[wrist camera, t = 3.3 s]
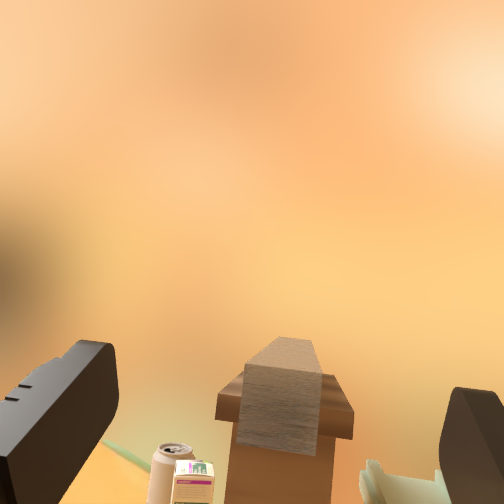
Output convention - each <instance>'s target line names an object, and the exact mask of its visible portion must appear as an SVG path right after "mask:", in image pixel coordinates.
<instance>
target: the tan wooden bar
mask: <svg viewBox="0 0 504 504" xmlns="http://www.w3.org/2000/svg"><path fill="white" fill-rule="evenodd" d="M322 374H323V373H322V370H321V368H320V365H319V362H318V360H317V356H316V354H315V351H314V348H313V345H312V342H311V341H310V340H302V339H294V338H285V337H278V338H277V339H276V340H274V341H273V342H272V343H270V344H269V345H268V346H267V347H265V348H264V349H263V350H261V351H260V352H259V353H258V354H256V355H255V356H254V357H252V358H251V359H250V360H249V361H247V362H246V363H245V368H244V377H243V386H242V395H241V404H240V413H239V422H238V431H237V440H236V444H240V445H247V446H253V447H259V448H266V449H272V450H279V451H285V452H291V453H298V454H304V455H311V456H316V445H317V433H318V421H319V409H320V398H321V386H322Z"/></svg>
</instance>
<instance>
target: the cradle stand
mask: <svg viewBox="0 0 504 504" xmlns="http://www.w3.org/2000/svg"><path fill="white" fill-rule="evenodd" d="M366 461H367V462H366V470H360V479H359V489H360V492H361V495H362V498H363V501H364V504H451V501H450V497H449V494H448V491H447V488H446V485H445V482H444V478H443V475H442V472H441V470H435V481H429V480H422V479H417V478H410V477H404V476H398V475H391V474H385V473H384V472H383V470H382V468H381V466H380V464H379V462H378V461H377V460H371V459H367V460H366Z"/></svg>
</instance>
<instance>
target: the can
mask: <svg viewBox="0 0 504 504" xmlns="http://www.w3.org/2000/svg"><path fill="white" fill-rule="evenodd" d="M192 451H193V449H192V447H190V446H188V445H186V444H182V443H172V442H171V443H163V444H161V445H159V446H158V451H156V452H155V453H154V455H153V457H152V465H151V472H150V479H149V487H148V494H147V501H146V504H170V503H171V495H172V486H173V478H174V470H175V465H176V461H177V460H195V457H194V455H193V454H192Z"/></svg>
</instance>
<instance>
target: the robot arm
mask: <svg viewBox="0 0 504 504" xmlns="http://www.w3.org/2000/svg"><path fill="white" fill-rule="evenodd" d="M118 401H119V389H118V379H117V368H116V358H115V350H114V347H113V345H112V344H111V343H104V342H96V341H88V340H80V341H78V342H76V343H75V344H74V345H73V346H72V347H71V348H70V349H69V350H68V351H67V352H66V353H65V354H64V356H62V357H61V358H54V359H52V360H50V361H48V362H47V363H45V364H43V365H41V366H39V367H38V368H36V369H34V370H33V371H32V372H31V373H30V374H29V375H28V376H27V377H26V378H25V379H24V380H22V382H20V383H19V386H18V387H15V388H14V389H13V390H12V391H11V392H10V393H9V394H8V395H7V396H6V397H5V400H1V401H0V504H58V503H59V502H60V500H61V499H62V497H63V495H64V494H65V492H66V491H67V489H68V488H69V486H70V485H71V483H72V482H73V480H74V479H75V477H76V476H77V474H78V472H79V471H80V469H81V468H82V466H83V465H84V463H85V462H86V460H87V459H88V457H89V456H90V454H91V452H92V451H93V449H94V448H95V446H96V445H97V443H98V442H99V440H100V439H101V437H102V436H103V434H104V432H105V431H106V429H107V428H108V426H109V425H110V423H111V422H112V420H113V418H114V416H115V413H116V410H117V407H118ZM439 461H440V468H441V472H442V475H443V478H444V482H445V485H446V488H447V491H448V494H449V497H450V501H451V504H504V406H503V405H502V403H501V401H500V400H499V398H498V396H497V395H496V393H494V392H493V391H486V390H478V389H469V388H462V387H455V388H454V389H453V391H452V393H451V397H450V401H449V405H448V409H447V413H446V417H445V421H444V425H443V429H442V433H441V437H440V443H439Z"/></svg>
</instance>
